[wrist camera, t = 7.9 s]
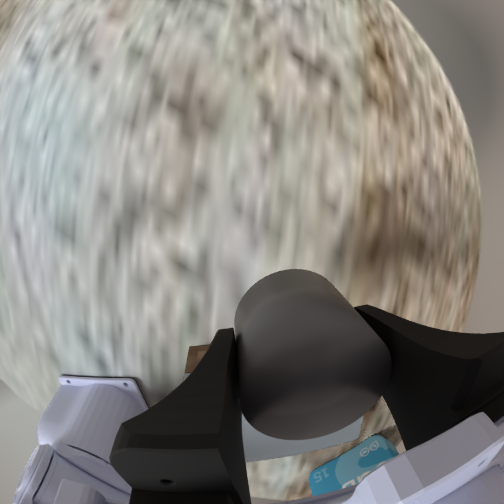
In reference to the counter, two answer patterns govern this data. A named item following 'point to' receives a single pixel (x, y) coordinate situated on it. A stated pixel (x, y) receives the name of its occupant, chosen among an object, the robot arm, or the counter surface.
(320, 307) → the dark grey rounded plug
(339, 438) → the lid
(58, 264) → the counter surface
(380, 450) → the data package
